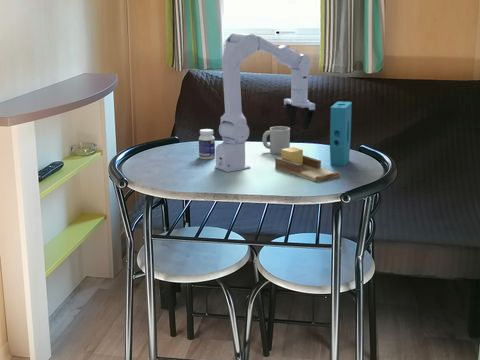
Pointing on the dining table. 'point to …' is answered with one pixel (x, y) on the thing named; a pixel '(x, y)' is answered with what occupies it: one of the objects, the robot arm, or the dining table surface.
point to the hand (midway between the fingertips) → (298, 127)
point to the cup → (277, 139)
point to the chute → (306, 169)
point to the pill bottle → (206, 144)
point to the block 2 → (340, 133)
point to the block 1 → (292, 155)
